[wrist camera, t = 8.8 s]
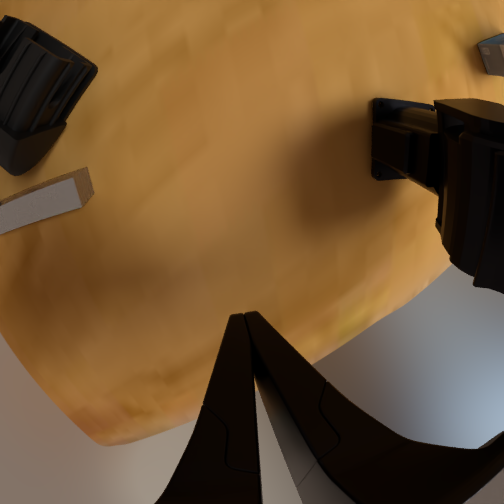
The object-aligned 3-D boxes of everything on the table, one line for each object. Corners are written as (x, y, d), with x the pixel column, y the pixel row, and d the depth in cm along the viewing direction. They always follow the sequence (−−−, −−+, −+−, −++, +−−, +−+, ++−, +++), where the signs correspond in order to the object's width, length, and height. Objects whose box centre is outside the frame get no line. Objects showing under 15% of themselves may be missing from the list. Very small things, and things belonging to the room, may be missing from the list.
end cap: (-22, 99, 10) (-78, 116, 4) (23, 19, 8) (-30, 7, 2) (51, 159, 15) (-3, 193, 9) (106, 72, 13) (60, 63, 7)
